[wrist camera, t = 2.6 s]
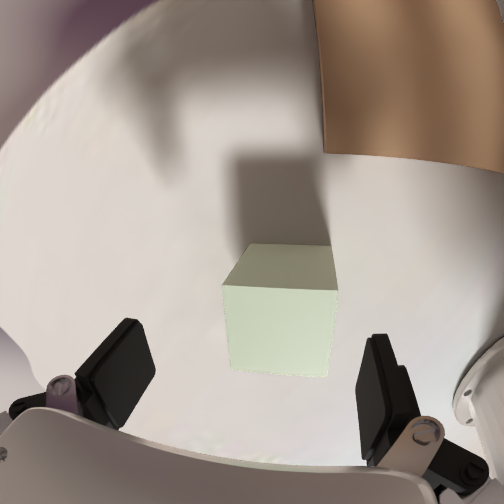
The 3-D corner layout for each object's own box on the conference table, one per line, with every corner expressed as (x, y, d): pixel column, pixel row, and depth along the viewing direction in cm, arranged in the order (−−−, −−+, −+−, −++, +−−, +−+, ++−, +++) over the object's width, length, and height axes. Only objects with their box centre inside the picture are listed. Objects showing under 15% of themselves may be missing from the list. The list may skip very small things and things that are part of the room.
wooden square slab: (475, 10, 9) (494, -4, 6) (496, 171, 13) (522, 177, 10) (309, -20, 11) (307, -44, 9) (324, 153, 15) (326, 153, 13)
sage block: (331, 245, 17) (337, 290, 12) (326, 316, 19) (326, 377, 13) (250, 243, 18) (222, 285, 13) (253, 312, 20) (230, 369, 14)
